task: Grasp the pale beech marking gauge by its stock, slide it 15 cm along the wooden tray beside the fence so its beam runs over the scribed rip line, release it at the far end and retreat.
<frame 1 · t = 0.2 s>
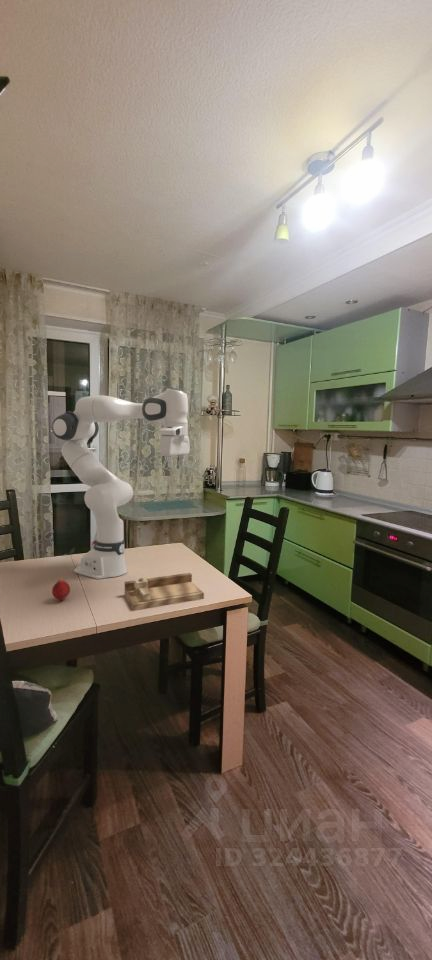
hand: (175, 466, 149), 47 cm above the table, fingers open, 8 cm apart
gauge: (141, 592, 139), point 2 cm above the table, touching wooden tray
wooden tray: (163, 596, 141), on the table
onion: (61, 600, 135), on the table
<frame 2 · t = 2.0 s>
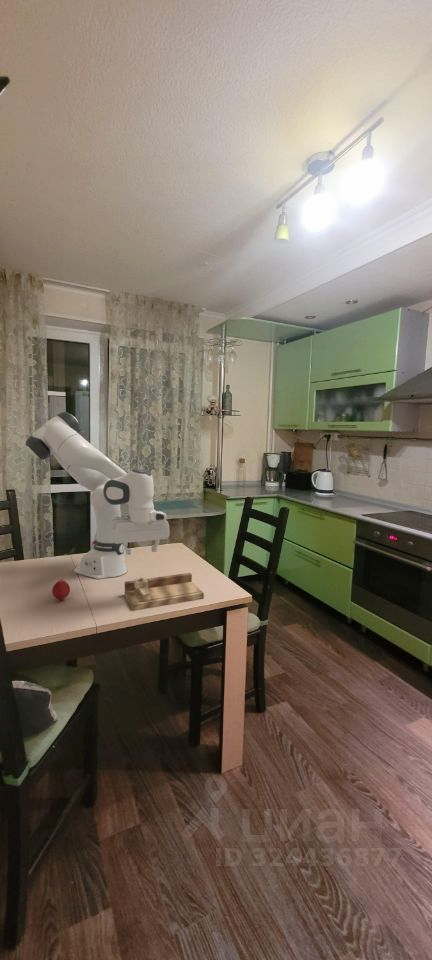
hand: (141, 552, 137), 17 cm above the table, fingers open, 8 cm apart
nothing on the table moved.
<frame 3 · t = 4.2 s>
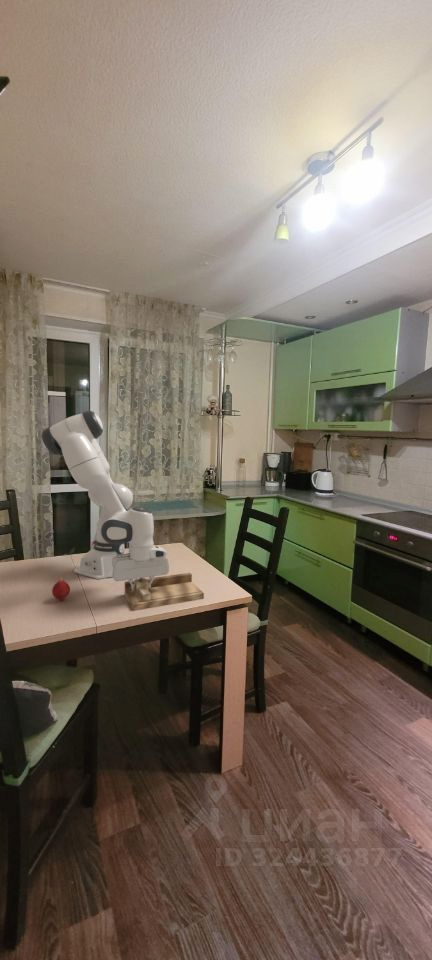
hand: (141, 588, 139), 3 cm above the table, fingers closed on gauge, 4 cm apart
gauge: (141, 592, 139), point 2 cm above the table, touching gripper, wooden tray
everything else where it was.
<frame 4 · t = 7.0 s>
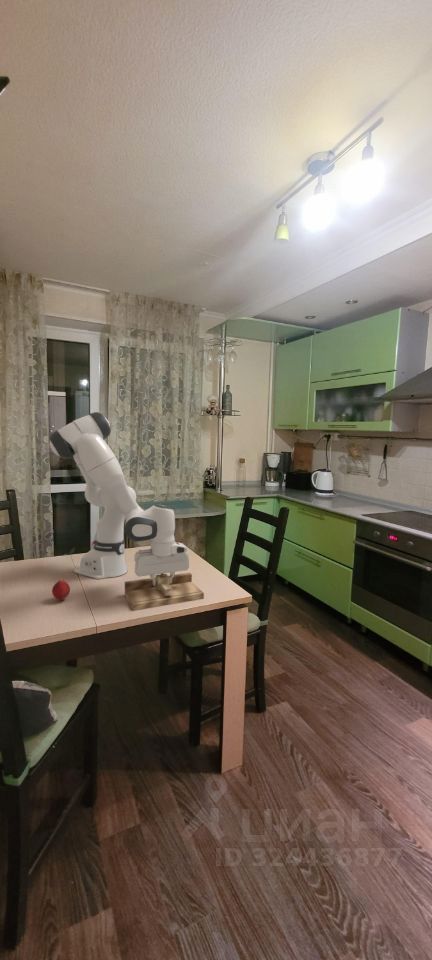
hand: (162, 584, 142), 4 cm above the table, fingers closed on gauge, 4 cm apart
gauge: (162, 587, 142), point 3 cm above the table, touching gripper
everything else where it was.
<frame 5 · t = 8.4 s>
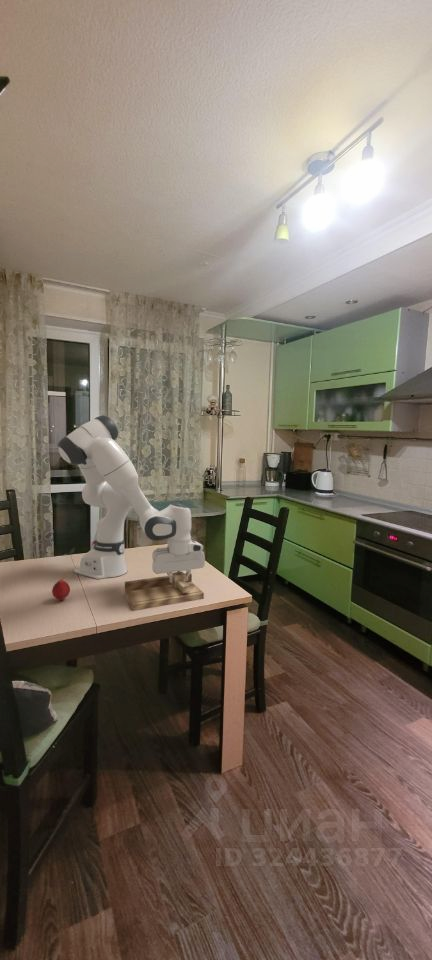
hand: (178, 581, 145), 4 cm above the table, fingers closed on gauge, 4 cm apart
gauge: (178, 585, 145), point 3 cm above the table, touching gripper
everything else where it was.
when the fingers open (4 cm above the table, at t = 9.7 s): gauge stays where it is, resting on wooden tray.
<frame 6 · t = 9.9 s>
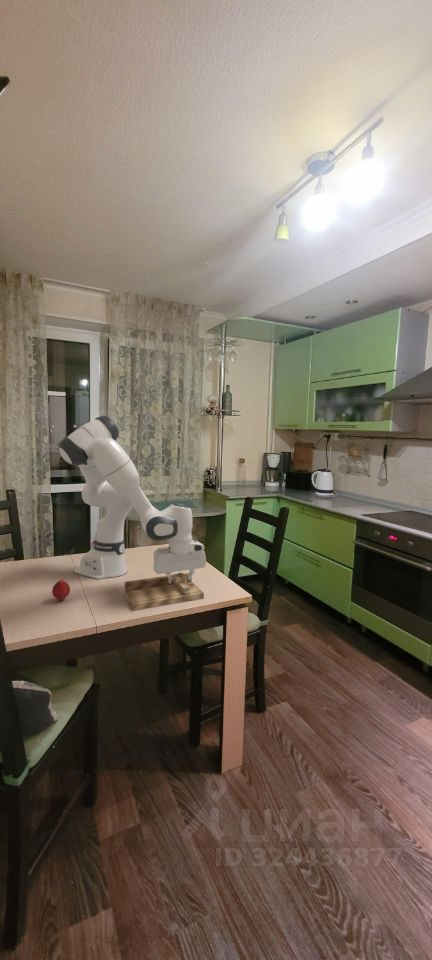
hand: (179, 581, 145), 4 cm above the table, fingers open, 6 cm apart
gauge: (179, 586, 145), point 2 cm above the table, touching wooden tray
everything else where it was.
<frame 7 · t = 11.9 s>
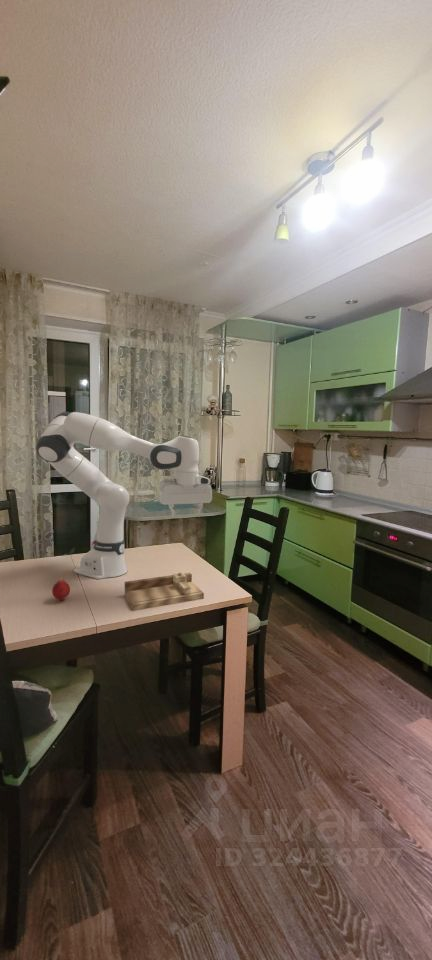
hand: (185, 515, 144), 29 cm above the table, fingers open, 8 cm apart
nothing on the table moved.
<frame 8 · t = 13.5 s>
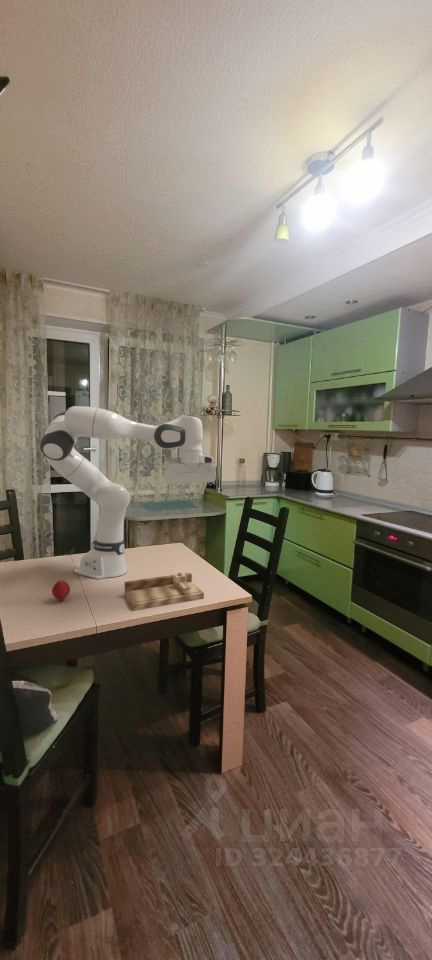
hand: (189, 494, 145), 37 cm above the table, fingers open, 8 cm apart
nothing on the table moved.
at the end: gauge inside the target area (0.3 cm from its centre), point 2.0 cm above the table; gauge tilted 0°; the gripper is holding nothing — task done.
